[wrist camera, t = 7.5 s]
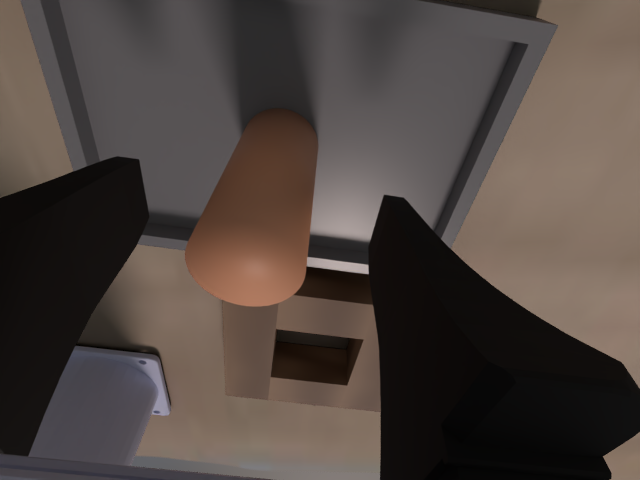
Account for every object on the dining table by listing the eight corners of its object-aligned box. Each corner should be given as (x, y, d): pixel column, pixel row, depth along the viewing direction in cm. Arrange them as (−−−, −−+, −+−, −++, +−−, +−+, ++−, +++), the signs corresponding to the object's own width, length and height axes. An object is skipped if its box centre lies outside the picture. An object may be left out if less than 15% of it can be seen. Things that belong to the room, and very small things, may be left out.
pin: (243, 174, 15) (192, 300, 10) (241, 103, 14) (176, 210, 8) (314, 183, 16) (301, 311, 10) (322, 113, 14) (311, 225, 8)
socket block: (234, 360, 25) (225, 395, 23) (233, 251, 19) (221, 285, 17) (377, 376, 26) (380, 412, 24) (421, 275, 20) (431, 312, 18)
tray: (110, 219, 18) (94, 238, 17) (33, -73, 11) (-3, -75, 10) (428, 262, 19) (433, 283, 18) (537, 17, 12) (558, 24, 11)
